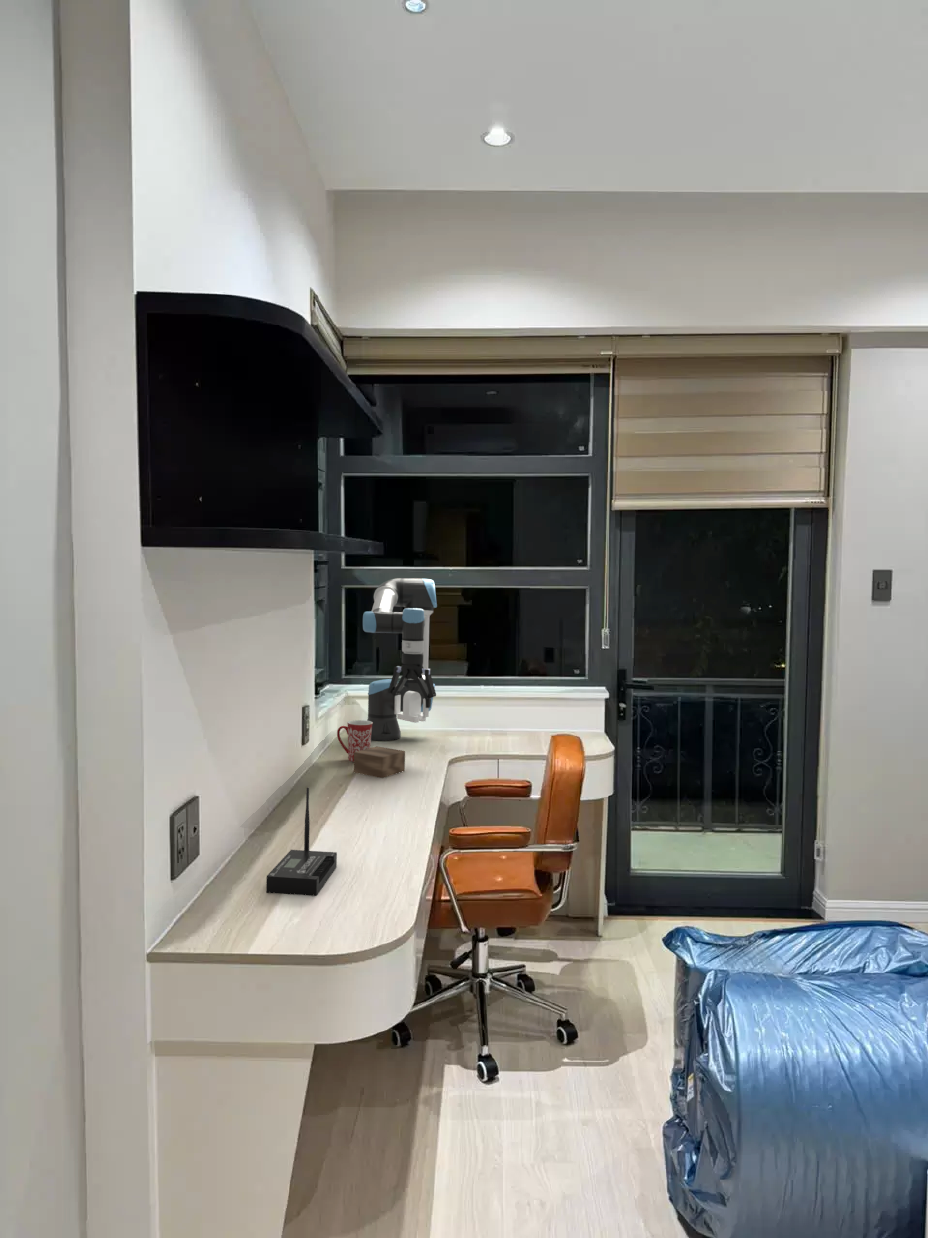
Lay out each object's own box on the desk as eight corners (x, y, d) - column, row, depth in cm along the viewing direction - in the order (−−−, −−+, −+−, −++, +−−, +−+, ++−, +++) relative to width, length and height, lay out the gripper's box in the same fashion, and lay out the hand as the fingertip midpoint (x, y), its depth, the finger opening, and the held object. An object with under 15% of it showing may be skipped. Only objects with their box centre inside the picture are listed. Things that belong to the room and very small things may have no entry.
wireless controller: (325, 898, 159) (326, 814, 158) (257, 894, 161) (258, 811, 160) (348, 863, 179) (350, 788, 178) (288, 860, 180) (289, 785, 180)
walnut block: (376, 766, 271) (376, 746, 271) (404, 771, 265) (405, 751, 265) (353, 773, 261) (353, 752, 261) (382, 778, 255) (382, 757, 254)
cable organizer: (414, 722, 272) (415, 693, 271) (396, 718, 279) (396, 690, 278) (426, 721, 275) (427, 692, 275) (407, 716, 282) (408, 689, 282)
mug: (375, 758, 283) (376, 720, 282) (367, 763, 274) (368, 725, 273) (341, 756, 285) (342, 718, 284) (332, 761, 276) (333, 723, 276)
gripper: (378, 651, 277) (377, 713, 279) (436, 655, 267) (435, 720, 268) (389, 649, 284) (388, 710, 285) (447, 654, 274) (445, 717, 275)
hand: (411, 715), depth 277 cm, fingers closed on cable organizer, 11 cm apart
